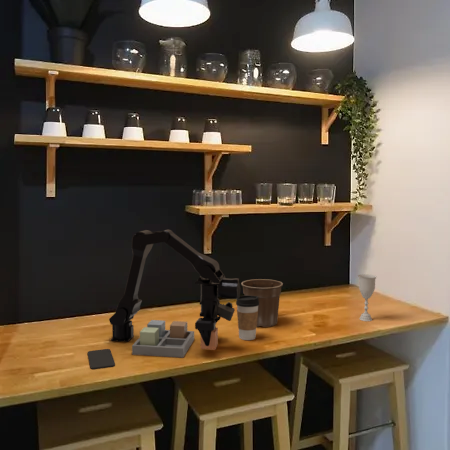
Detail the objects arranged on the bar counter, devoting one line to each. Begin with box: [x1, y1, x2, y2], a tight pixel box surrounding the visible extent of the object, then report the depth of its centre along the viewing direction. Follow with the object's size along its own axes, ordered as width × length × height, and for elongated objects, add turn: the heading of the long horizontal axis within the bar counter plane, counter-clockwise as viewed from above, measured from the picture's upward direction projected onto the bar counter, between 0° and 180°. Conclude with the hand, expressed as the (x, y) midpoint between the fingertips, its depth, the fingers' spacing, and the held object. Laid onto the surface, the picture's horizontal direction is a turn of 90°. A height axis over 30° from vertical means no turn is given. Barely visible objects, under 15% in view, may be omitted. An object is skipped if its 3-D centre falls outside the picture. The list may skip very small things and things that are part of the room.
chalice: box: [357, 273, 378, 322], centre depth 187 cm, size 7×7×18 cm
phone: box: [87, 348, 116, 370], centre depth 145 cm, size 7×1×15 cm
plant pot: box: [240, 278, 284, 328], centre depth 182 cm, size 16×16×16 cm
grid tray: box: [131, 319, 195, 358], centre depth 156 cm, size 17×17×7 cm
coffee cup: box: [235, 295, 259, 341], centre depth 165 cm, size 8×8×15 cm
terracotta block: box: [200, 327, 219, 351], centre depth 156 cm, size 5×5×6 cm
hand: (209, 342), depth 156 cm, fingers open, 7 cm apart
